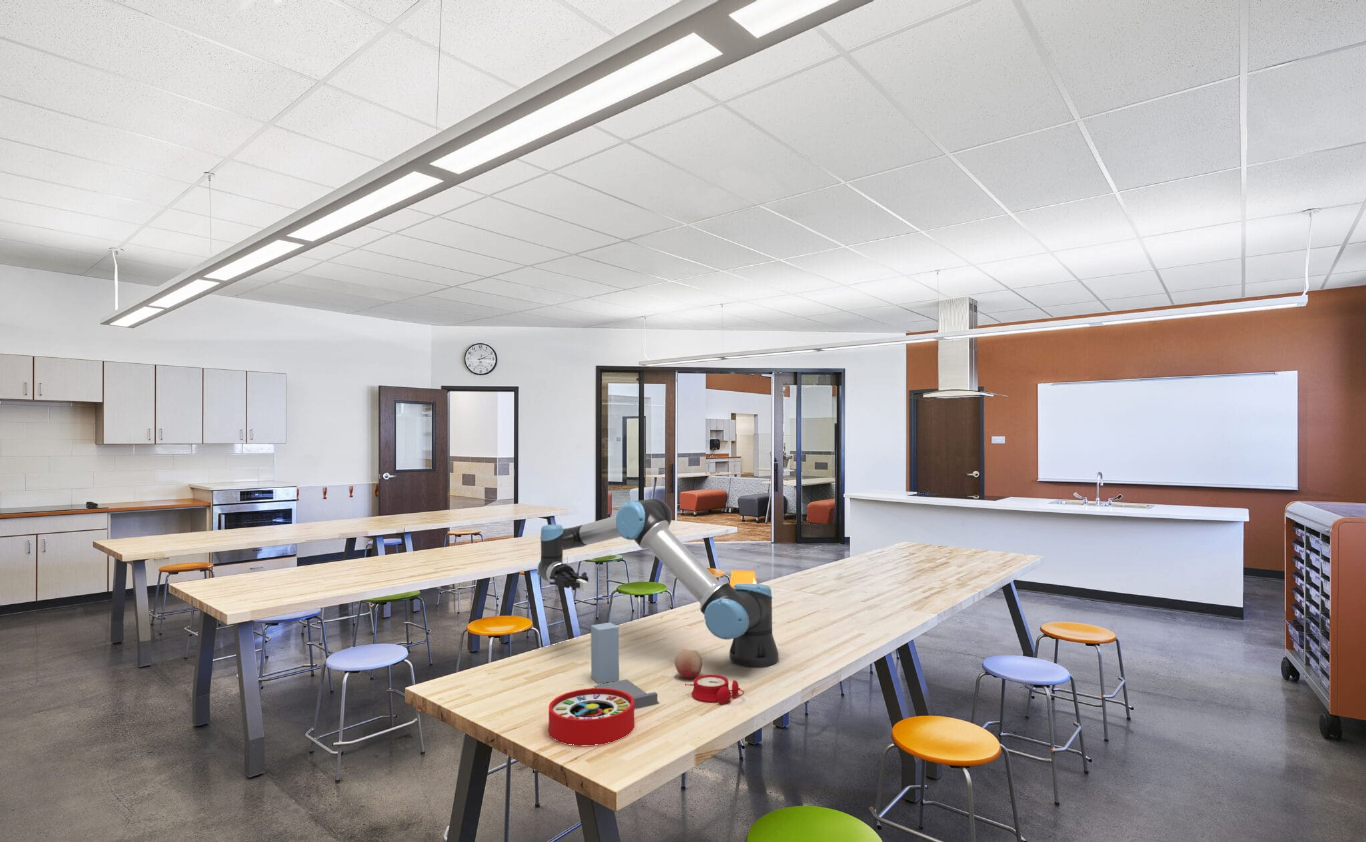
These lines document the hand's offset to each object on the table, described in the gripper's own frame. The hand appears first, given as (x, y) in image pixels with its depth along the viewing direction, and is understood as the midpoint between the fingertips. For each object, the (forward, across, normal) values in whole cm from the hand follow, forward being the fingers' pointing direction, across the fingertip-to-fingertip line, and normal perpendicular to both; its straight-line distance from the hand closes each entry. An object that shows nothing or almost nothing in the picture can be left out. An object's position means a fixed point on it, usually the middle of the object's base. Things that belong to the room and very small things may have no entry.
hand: (586, 586), depth 201 cm
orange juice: (-12, -66, -24) cm, 72 cm away
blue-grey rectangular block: (+15, 0, -24) cm, 28 cm away
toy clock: (+43, +15, -24) cm, 52 cm away
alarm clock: (+42, -20, -24) cm, 53 cm away
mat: (+29, 0, -24) cm, 37 cm away
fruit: (+25, -21, -24) cm, 41 cm away
